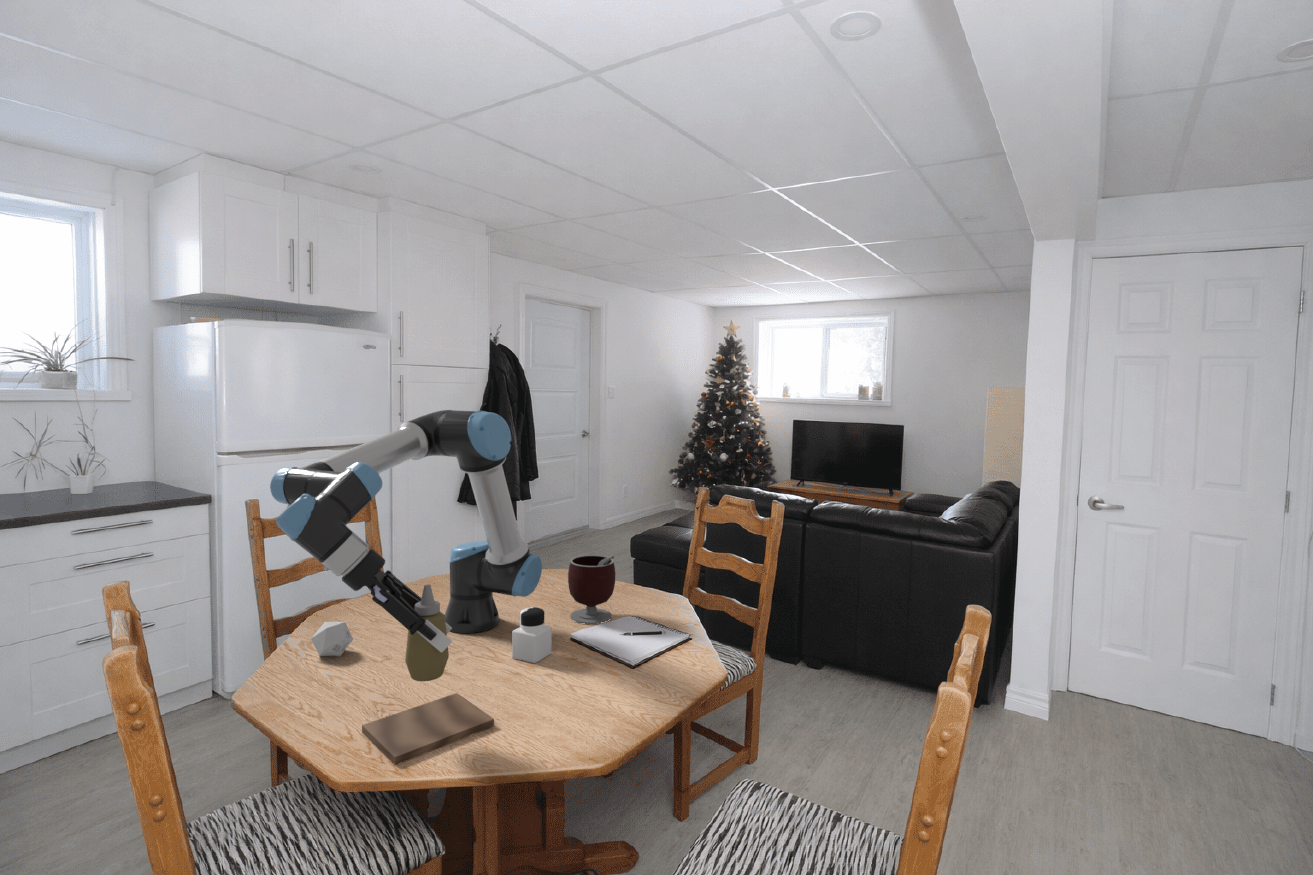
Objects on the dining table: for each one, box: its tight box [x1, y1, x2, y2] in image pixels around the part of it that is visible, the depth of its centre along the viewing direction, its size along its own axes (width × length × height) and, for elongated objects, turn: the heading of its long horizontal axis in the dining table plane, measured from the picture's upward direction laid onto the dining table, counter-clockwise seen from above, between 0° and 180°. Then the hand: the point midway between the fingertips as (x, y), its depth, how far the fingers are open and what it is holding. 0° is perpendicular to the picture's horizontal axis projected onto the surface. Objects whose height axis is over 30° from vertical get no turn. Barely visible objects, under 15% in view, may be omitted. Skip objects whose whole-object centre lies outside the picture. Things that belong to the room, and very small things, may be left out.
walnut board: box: [361, 692, 495, 766], centre depth 128 cm, size 20×15×2 cm
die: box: [310, 621, 354, 657], centre depth 162 cm, size 8×9×10 cm
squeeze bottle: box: [404, 584, 450, 682], centre depth 126 cm, size 8×8×18 cm
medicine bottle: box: [511, 606, 552, 664], centre depth 164 cm, size 7×7×12 cm
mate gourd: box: [567, 554, 616, 625], centre depth 192 cm, size 16×14×20 cm
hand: (446, 639), depth 128 cm, fingers closed on squeeze bottle, 6 cm apart
